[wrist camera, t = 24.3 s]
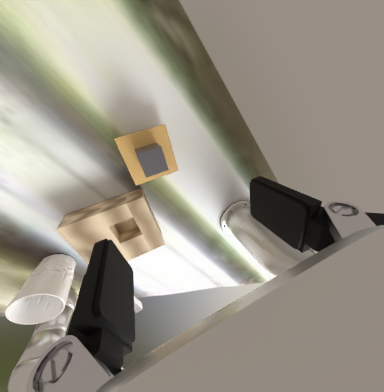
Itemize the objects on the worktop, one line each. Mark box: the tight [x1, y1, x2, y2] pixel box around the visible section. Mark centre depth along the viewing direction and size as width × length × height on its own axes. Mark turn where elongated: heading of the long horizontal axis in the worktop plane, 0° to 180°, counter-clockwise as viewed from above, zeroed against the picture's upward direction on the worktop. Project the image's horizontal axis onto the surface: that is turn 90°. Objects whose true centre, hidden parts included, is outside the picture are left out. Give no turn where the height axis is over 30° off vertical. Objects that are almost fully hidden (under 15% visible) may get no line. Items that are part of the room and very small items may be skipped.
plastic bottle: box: [8, 289, 78, 392], centre depth 30 cm, size 6×7×20 cm
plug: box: [114, 124, 178, 185], centre depth 28 cm, size 9×9×9 cm
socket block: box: [56, 188, 165, 264], centre depth 34 cm, size 16×14×5 cm
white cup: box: [5, 254, 76, 324], centre depth 31 cm, size 8×8×10 cm
